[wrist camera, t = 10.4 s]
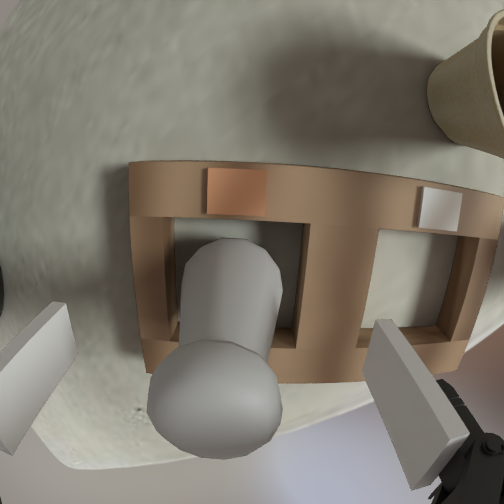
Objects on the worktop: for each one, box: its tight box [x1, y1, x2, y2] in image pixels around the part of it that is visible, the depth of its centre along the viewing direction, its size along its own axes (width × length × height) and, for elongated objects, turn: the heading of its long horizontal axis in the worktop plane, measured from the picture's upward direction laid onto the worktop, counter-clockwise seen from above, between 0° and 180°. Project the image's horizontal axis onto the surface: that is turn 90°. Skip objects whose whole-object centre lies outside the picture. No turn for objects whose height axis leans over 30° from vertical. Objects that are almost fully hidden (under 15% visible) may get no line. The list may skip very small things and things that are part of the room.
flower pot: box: [427, 10, 504, 158], centre depth 12 cm, size 9×9×9 cm
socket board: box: [129, 160, 504, 383], centre depth 19 cm, size 24×14×3 cm, turn 87°
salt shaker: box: [147, 238, 283, 459], centre depth 14 cm, size 6×6×13 cm
